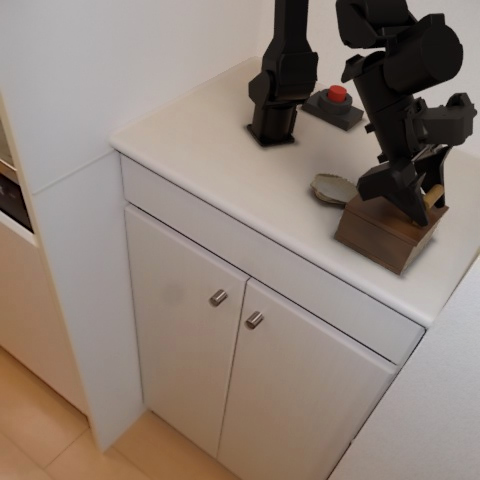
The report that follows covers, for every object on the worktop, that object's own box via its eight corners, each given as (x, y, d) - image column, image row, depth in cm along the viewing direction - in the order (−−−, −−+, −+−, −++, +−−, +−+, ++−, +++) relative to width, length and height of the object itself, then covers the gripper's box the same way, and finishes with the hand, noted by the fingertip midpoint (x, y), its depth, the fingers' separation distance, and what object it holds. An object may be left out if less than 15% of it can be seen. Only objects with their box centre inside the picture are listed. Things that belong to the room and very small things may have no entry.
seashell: (360, 213, 82) (336, 175, 85) (371, 200, 80) (346, 161, 83) (321, 218, 78) (297, 178, 81) (331, 205, 76) (306, 163, 78)
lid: (447, 211, 73) (462, 182, 70) (416, 247, 67) (431, 218, 64) (379, 177, 77) (390, 148, 73) (344, 208, 71) (354, 178, 67)
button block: (361, 119, 98) (367, 101, 96) (346, 131, 95) (352, 113, 92) (317, 98, 101) (321, 81, 99) (300, 109, 98) (304, 91, 95)
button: (347, 99, 96) (350, 89, 95) (339, 104, 94) (341, 95, 93) (332, 92, 97) (335, 83, 96) (324, 97, 95) (326, 88, 94)
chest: (430, 239, 78) (445, 210, 74) (399, 275, 72) (414, 246, 68) (368, 206, 81) (379, 177, 77) (333, 238, 75) (344, 208, 71)
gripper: (417, 102, 53) (468, 237, 58) (480, 53, 64) (518, 170, 69) (331, 139, 61) (382, 254, 66) (399, 90, 72) (439, 193, 77)
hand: (433, 216), depth 69 cm, fingers open, 5 cm apart
